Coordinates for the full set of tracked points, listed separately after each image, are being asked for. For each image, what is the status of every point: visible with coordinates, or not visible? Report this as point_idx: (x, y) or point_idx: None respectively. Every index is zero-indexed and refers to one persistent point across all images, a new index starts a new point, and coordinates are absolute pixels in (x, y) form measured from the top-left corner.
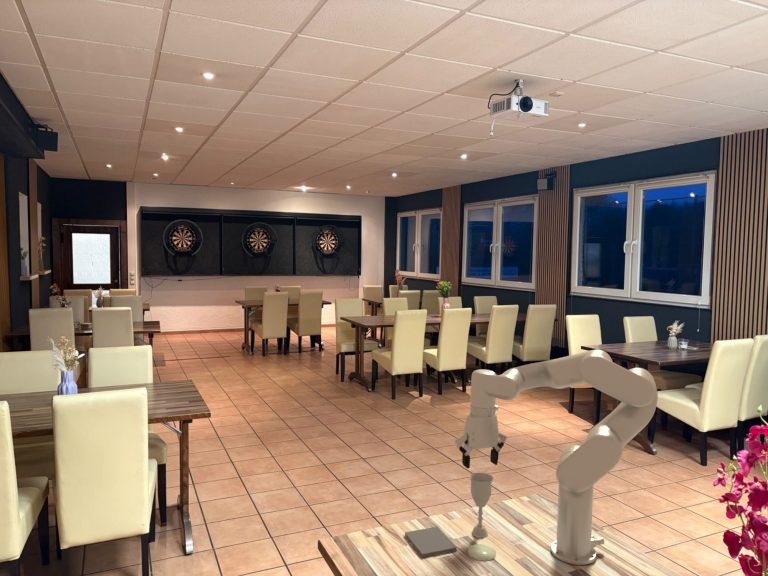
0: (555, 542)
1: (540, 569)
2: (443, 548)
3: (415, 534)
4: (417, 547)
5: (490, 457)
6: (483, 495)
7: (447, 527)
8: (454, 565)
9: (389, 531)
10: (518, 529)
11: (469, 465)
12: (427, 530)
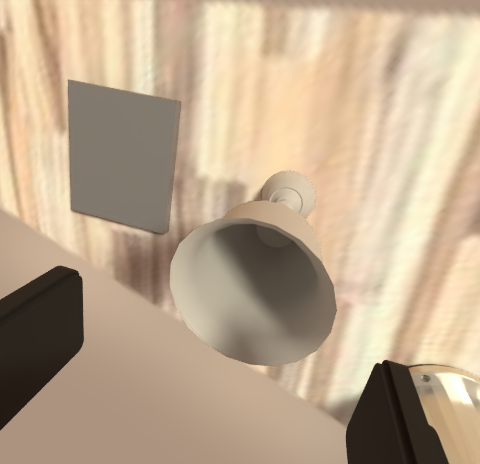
0: (430, 377)
1: (294, 393)
2: (130, 218)
3: (92, 109)
4: (71, 176)
5: (385, 397)
6: (242, 294)
7: (220, 105)
8: (131, 274)
9: (41, 29)
10: (425, 248)
11: (63, 363)
12: (135, 107)
